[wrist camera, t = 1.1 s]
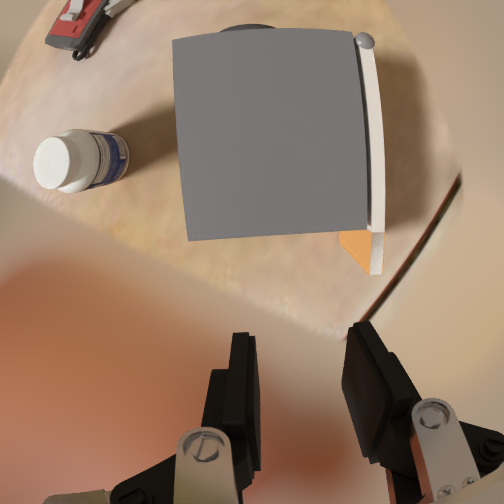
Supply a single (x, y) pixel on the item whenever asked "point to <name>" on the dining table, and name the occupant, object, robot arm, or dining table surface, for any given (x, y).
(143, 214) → the dining table surface
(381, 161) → the side door
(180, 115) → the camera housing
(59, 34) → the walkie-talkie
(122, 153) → the pill bottle
